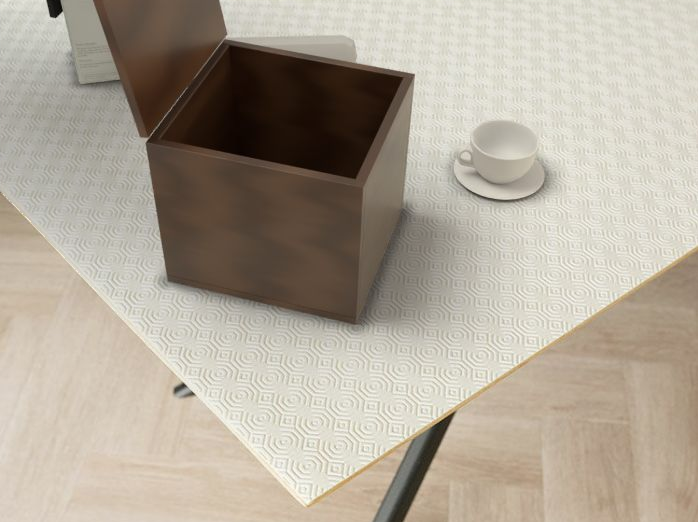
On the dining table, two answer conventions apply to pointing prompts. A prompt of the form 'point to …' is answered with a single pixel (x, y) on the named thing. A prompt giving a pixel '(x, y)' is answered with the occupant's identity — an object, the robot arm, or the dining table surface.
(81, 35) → the white packaging box
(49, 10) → the robot arm
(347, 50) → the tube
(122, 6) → the chest lid
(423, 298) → the dining table surface
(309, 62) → the chest
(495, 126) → the teacup
